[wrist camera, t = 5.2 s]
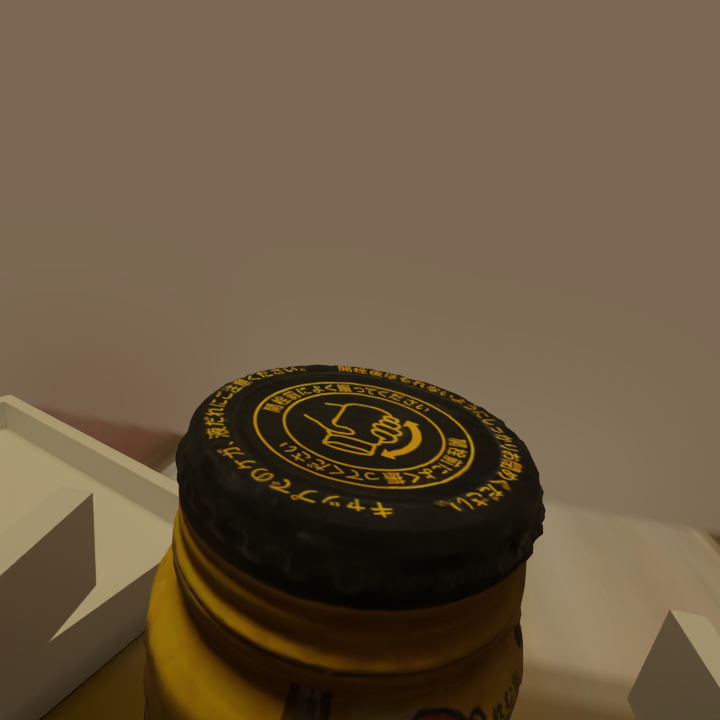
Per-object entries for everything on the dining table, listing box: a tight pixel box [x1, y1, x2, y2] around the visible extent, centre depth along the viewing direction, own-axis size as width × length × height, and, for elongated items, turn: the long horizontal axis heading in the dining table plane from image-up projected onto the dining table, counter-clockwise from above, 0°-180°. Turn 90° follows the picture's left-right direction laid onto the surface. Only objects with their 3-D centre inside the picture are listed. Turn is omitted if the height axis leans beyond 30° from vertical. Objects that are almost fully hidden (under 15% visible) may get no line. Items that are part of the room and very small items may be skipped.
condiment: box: [143, 365, 545, 720], centre depth 9 cm, size 7×8×12 cm
